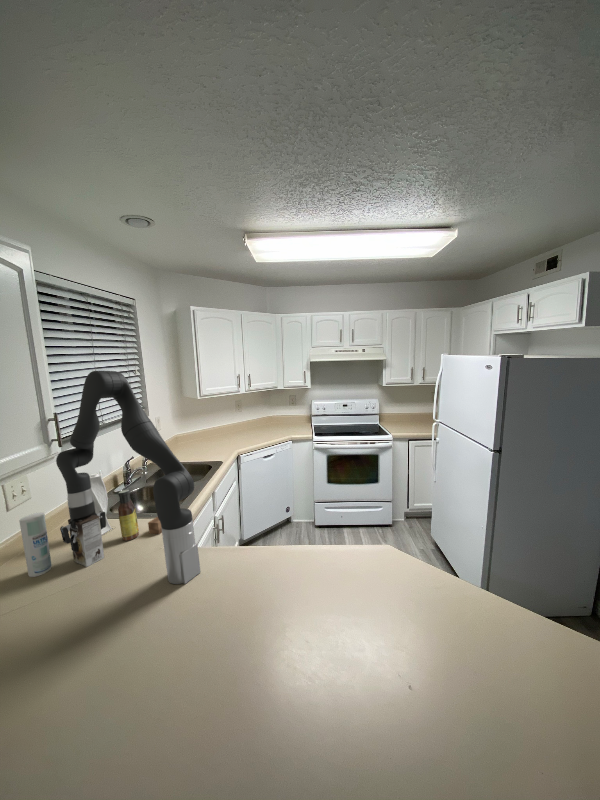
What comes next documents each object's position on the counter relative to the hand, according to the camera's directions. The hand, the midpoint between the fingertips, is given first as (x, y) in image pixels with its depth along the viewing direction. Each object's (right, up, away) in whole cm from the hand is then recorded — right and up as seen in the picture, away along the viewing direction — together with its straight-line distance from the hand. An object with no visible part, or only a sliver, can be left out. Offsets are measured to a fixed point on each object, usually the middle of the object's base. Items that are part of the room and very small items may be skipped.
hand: (87, 546), depth 108 cm
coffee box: (0, -5, 0) cm, 5 cm away
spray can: (-14, -7, -4) cm, 16 cm away
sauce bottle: (+7, -4, +15) cm, 17 cm away
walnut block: (+17, -3, +18) cm, 25 cm away
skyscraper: (-9, -5, +22) cm, 24 cm away
